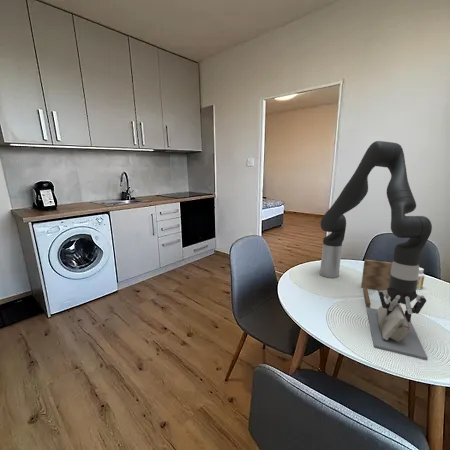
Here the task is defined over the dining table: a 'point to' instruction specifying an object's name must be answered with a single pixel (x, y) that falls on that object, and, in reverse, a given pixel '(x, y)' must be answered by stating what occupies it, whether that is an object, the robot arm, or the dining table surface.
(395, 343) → the charcoal pad
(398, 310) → the packaged product
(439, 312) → the dining table surface
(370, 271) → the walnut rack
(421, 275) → the supplement bottle
